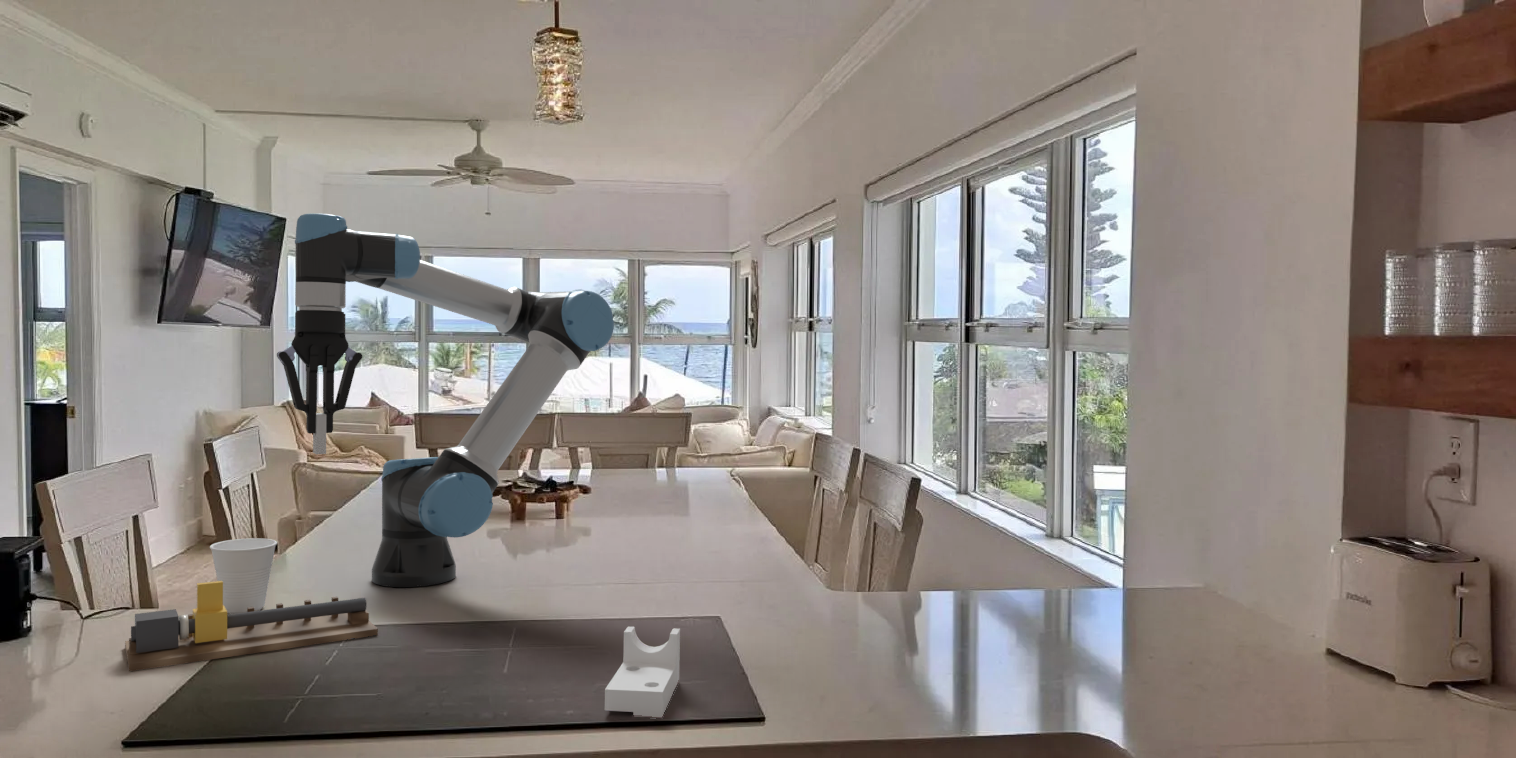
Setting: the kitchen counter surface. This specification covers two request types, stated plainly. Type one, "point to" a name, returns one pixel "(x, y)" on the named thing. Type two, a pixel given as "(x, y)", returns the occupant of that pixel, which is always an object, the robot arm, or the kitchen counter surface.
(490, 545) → the kitchen counter surface
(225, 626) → the sleeve
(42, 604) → the kitchen counter surface
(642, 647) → the bracket
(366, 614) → the comb board
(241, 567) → the cup
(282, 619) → the cord
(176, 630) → the connector
